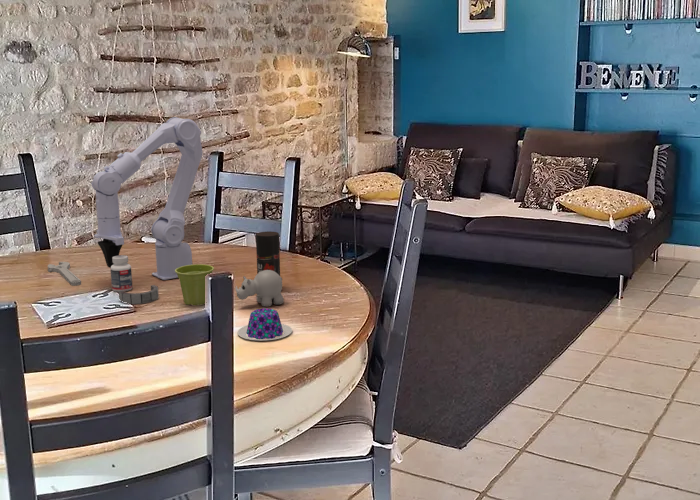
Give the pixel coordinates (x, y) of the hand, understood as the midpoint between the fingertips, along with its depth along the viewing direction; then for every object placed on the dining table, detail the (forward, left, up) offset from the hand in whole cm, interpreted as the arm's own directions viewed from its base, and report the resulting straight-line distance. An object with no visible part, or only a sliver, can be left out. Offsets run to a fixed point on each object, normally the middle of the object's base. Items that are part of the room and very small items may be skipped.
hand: (112, 266), depth 213 cm
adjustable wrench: (+7, -18, -6) cm, 21 cm away
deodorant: (-30, +31, -5) cm, 43 cm away
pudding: (-11, +60, -6) cm, 61 cm away
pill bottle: (0, +6, -5) cm, 8 cm away
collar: (0, +19, -5) cm, 19 cm away
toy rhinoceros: (-21, +41, -5) cm, 46 cm away
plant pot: (-10, +29, -5) cm, 31 cm away
